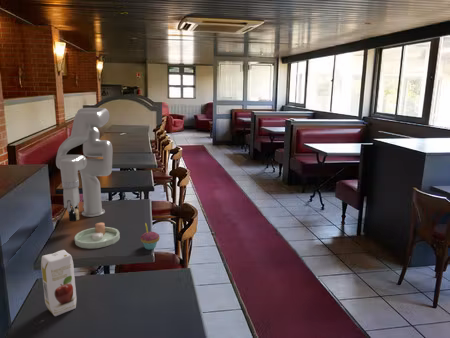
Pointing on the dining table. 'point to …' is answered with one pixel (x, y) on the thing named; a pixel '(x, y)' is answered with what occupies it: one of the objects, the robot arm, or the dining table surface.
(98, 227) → the terracotta bead
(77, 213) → the maple bead
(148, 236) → the cupcake
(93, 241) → the groove tray
